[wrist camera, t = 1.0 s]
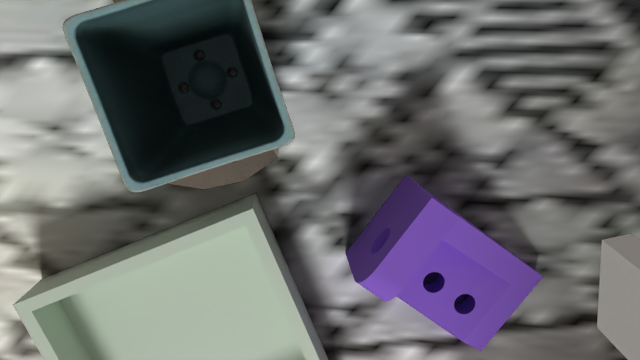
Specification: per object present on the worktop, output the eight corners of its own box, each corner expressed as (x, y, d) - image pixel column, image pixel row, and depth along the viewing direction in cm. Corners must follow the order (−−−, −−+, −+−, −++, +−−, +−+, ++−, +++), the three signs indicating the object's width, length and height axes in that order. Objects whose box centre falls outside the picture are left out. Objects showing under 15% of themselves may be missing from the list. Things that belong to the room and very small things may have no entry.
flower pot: (115, 31, 33) (56, 19, 25) (250, -12, 33) (239, -40, 25) (166, 164, 35) (128, 196, 27) (294, 123, 35) (298, 141, 27)
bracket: (345, 251, 38) (358, 291, 31) (405, 173, 37) (432, 197, 30) (473, 340, 40) (512, 395, 33) (533, 268, 39) (585, 310, 32)
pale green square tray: (339, 384, 40) (345, 419, 36) (143, 462, 40) (127, 505, 36) (255, 193, 36) (252, 208, 32) (41, 279, 36) (12, 304, 32)
